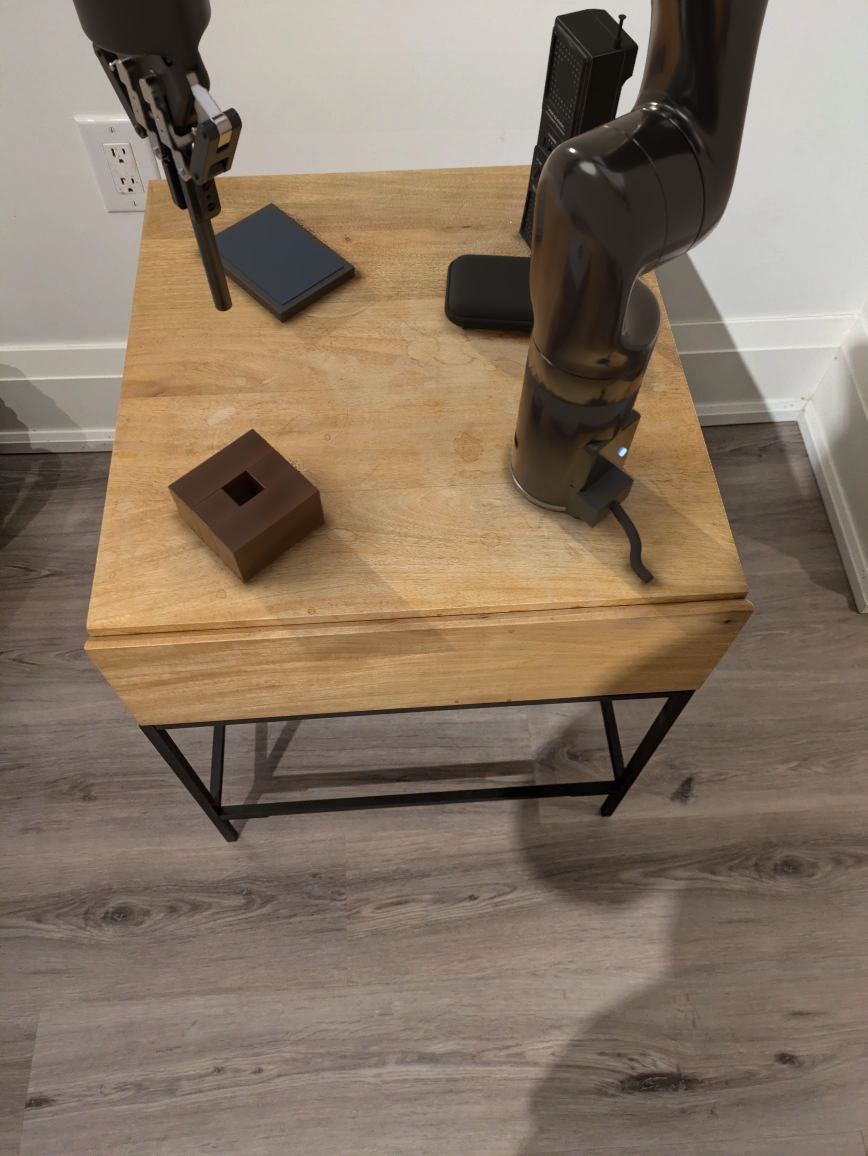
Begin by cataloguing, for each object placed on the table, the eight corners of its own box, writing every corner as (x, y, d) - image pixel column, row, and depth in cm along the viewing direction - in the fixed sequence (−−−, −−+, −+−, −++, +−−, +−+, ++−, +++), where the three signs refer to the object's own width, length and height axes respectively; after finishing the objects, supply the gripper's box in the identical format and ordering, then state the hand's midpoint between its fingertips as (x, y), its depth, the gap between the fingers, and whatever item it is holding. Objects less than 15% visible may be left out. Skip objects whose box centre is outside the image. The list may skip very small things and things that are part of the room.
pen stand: (325, 522, 75) (319, 490, 71) (244, 583, 72) (232, 553, 68) (262, 462, 78) (252, 427, 74) (181, 518, 75) (167, 486, 71)
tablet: (355, 276, 90) (354, 266, 89) (282, 322, 87) (280, 313, 86) (273, 211, 95) (271, 201, 94) (200, 253, 91) (197, 243, 90)
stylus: (236, 306, 69) (196, 145, 56) (221, 315, 68) (177, 154, 56) (225, 296, 69) (183, 135, 57) (210, 305, 69) (164, 144, 56)
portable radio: (511, 229, 94) (540, -18, 72) (559, 215, 95) (602, -32, 73) (543, 275, 91) (583, 30, 69) (593, 260, 92) (648, 15, 70)
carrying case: (442, 342, 86) (587, 351, 85) (442, 319, 83) (592, 328, 83) (448, 268, 91) (585, 277, 91) (449, 245, 88) (590, 253, 88)
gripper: (-3, -92, 47) (102, 187, 62) (136, 8, 42) (212, 284, 57) (114, -133, 49) (186, 144, 64) (256, -43, 45) (299, 233, 60)
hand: (198, 209), depth 61 cm, fingers closed on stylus, 1 cm apart
